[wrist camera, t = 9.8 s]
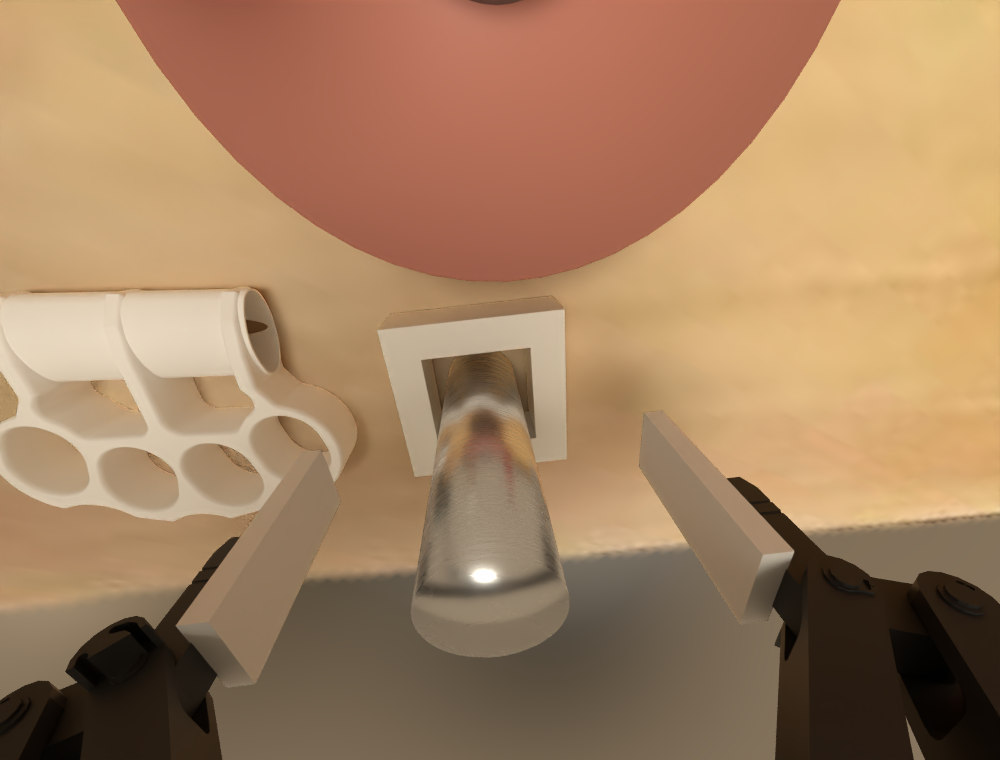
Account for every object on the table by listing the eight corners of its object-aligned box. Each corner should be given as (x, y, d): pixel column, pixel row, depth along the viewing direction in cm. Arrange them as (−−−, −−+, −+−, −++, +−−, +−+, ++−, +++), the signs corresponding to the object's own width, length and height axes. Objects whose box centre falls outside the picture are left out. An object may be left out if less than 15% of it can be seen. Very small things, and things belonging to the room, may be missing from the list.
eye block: (421, 446, 23) (414, 477, 21) (390, 313, 20) (377, 330, 17) (556, 430, 24) (567, 459, 21) (552, 295, 20) (564, 309, 17)
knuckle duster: (328, 281, 19) (373, 490, 25) (-34, 288, 18) (106, 504, 24) (301, 294, 16) (359, 528, 22) (-138, 304, 15) (53, 546, 21)
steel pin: (453, 409, 22) (427, 666, 10) (443, 350, 21) (394, 570, 8) (516, 402, 22) (570, 647, 10) (511, 343, 21) (568, 547, 8)
